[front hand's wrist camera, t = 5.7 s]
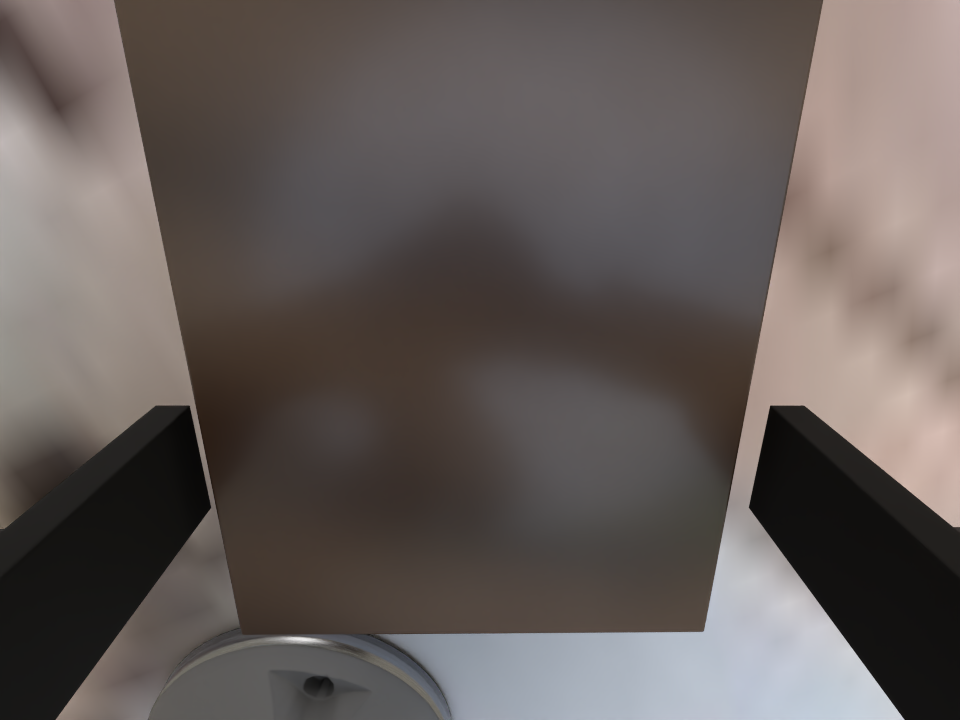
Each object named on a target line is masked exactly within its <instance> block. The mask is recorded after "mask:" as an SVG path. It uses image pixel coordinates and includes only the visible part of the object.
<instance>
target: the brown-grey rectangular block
mask: <svg viewBox="0 0 960 720" xmlns="http://www.w3.org/2000/svg"><path fill="white" fill-rule="evenodd" d="M114 3H115V8H116V13H117V17H118V22H119V27H120V32H121V37H122V42H123V47H124V52H125V57H126V62H127V67H128V72H129V77H130V82H131V87H132V92H133V97H134V102H135V107H136V112H137V117H138V122H139V127H140V132H141V137H142V142H143V146H144V151H145V156H146V161H147V166H148V171H149V176H150V181H151V186H152V191H153V196H154V201H155V206H156V211H157V216H158V221H159V226H160V231H161V236H162V241H163V246H164V251H165V256H166V261H167V266H168V270H169V275H170V280H171V285H172V290H173V295H174V300H175V305H176V310H177V315H178V320H179V325H180V330H181V335H182V340H183V345H184V350H185V355H186V360H187V365H188V370H189V375H190V380H191V385H192V390H193V394H194V399H195V404H196V409H197V414H198V419H199V424H200V429H201V434H202V439H203V444H204V449H205V454H206V459H207V464H208V469H209V474H210V479H211V484H212V489H213V494H214V499H215V504H216V509H217V514H218V518H219V523H220V528H221V533H222V538H223V543H224V548H225V553H226V558H227V563H228V568H229V573H230V578H231V583H232V588H233V593H234V598H235V603H236V608H237V613H238V618H239V623H240V628H241V633H242V635H320V634H461V633H602V632H703V631H704V628H705V623H706V617H707V612H708V607H709V601H710V596H711V591H712V585H713V580H714V575H715V570H716V564H717V559H718V554H719V548H720V543H721V538H722V533H723V527H724V522H725V517H726V511H727V506H728V501H729V496H730V490H731V485H732V480H733V474H734V469H735V464H736V458H737V453H738V448H739V443H740V437H741V432H742V427H743V421H744V416H745V411H746V406H747V400H748V395H749V390H750V384H751V379H752V374H753V368H754V363H755V358H756V353H757V347H758V342H759V337H760V331H761V326H762V321H763V316H764V310H765V305H766V300H767V294H768V289H769V284H770V279H771V273H772V268H773V263H774V257H775V252H776V247H777V241H778V236H779V231H780V226H781V220H782V215H783V210H784V204H785V199H786V194H787V189H788V183H789V178H790V173H791V167H792V162H793V157H794V152H795V146H796V141H797V136H798V130H799V125H800V120H801V114H802V109H803V104H804V99H805V93H806V88H807V83H808V77H809V72H810V67H811V62H812V56H813V51H814V46H815V40H816V35H817V30H818V25H819V19H820V14H821V9H822V3H823V0H114Z"/></svg>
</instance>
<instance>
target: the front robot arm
mask: <svg viewBox="0 0 960 720" xmlns="http://www.w3.org/2000/svg"><path fill="white" fill-rule="evenodd" d="M210 508H211V505H210V500H209V495H208V490H207V486H206V481H205V476H204V471H203V467H202V462H201V457H200V452H199V448H198V443H197V438H196V433H195V429H194V424H193V419H192V414H191V410H190V406H155V407H154V408H152V409H151V410H150V411H149V412H148V413H146V414H145V415H144V416H143V417H141V418H140V419H139V420H138V421H136V422H135V423H134V424H133V425H132V426H130V427H129V428H128V429H127V430H125V431H124V432H123V433H122V434H121V435H119V436H118V437H117V438H116V439H114V440H113V441H112V442H111V443H110V444H108V445H107V446H106V447H105V448H103V449H102V450H101V451H100V452H98V453H97V454H96V455H95V456H94V457H92V458H91V459H90V460H89V461H87V462H86V463H85V464H84V465H83V466H81V467H80V468H79V469H78V470H76V471H75V472H74V473H73V474H72V475H70V476H69V477H68V478H67V479H65V480H64V481H63V482H62V483H60V484H59V485H58V486H57V487H56V488H54V489H53V490H52V491H51V492H49V493H48V494H47V495H46V496H45V497H43V498H42V499H41V500H40V501H38V502H37V503H36V504H35V505H33V506H32V507H31V508H30V509H29V510H27V511H26V512H25V513H24V514H22V515H21V516H20V517H19V518H18V519H16V520H15V521H14V522H13V523H11V524H10V525H9V526H8V527H7V528H5V529H0V720H55V719H56V718H57V717H58V715H59V714H60V713H61V711H62V710H63V709H64V707H65V706H66V705H67V703H68V702H69V700H70V699H71V698H72V696H73V695H74V694H75V692H76V691H77V690H78V688H79V687H80V685H81V684H82V683H83V681H84V680H85V679H86V677H87V676H88V675H89V673H90V672H91V670H92V669H93V668H94V666H95V665H96V664H97V662H98V661H99V660H100V658H101V657H102V655H103V654H104V653H105V651H106V650H107V649H108V647H109V646H110V645H111V643H112V642H113V640H114V639H115V638H116V636H117V635H118V634H119V632H120V631H121V630H122V628H123V627H124V626H125V624H126V623H127V621H128V620H129V619H130V617H131V616H132V615H133V613H134V612H135V611H136V609H137V608H138V606H139V605H140V604H141V602H142V601H143V600H144V598H145V597H146V596H147V594H148V593H149V591H150V590H151V589H152V587H153V586H154V585H155V583H156V582H157V581H158V579H159V578H160V576H161V575H162V574H163V572H164V571H165V570H166V568H167V567H168V566H169V564H170V563H171V562H172V560H173V559H174V557H175V556H176V555H177V553H178V552H179V551H180V549H181V548H182V547H183V545H184V544H185V542H186V541H187V540H188V538H189V537H190V536H191V534H192V533H193V532H194V530H195V529H196V527H197V526H198V525H199V523H200V522H201V521H202V519H203V518H204V517H205V515H206V514H207V512H208V511H209V510H210ZM749 508H750V510H751V511H752V512H753V514H754V515H755V517H756V518H757V519H758V521H759V522H760V523H761V525H762V526H763V527H764V529H765V530H766V532H767V533H768V534H769V536H770V537H771V538H772V540H773V541H774V542H775V544H776V545H777V547H778V548H779V549H780V551H781V552H782V553H783V555H784V556H785V557H786V559H787V560H788V562H789V563H790V564H791V566H792V567H793V568H794V570H795V571H796V572H797V574H798V575H799V576H800V578H801V579H802V581H803V582H804V583H805V585H806V586H807V587H808V589H809V590H810V591H811V593H812V594H813V596H814V597H815V598H816V600H817V601H818V602H819V604H820V605H821V606H822V608H823V609H824V611H825V612H826V613H827V615H828V616H829V617H830V619H831V620H832V621H833V623H834V624H835V626H836V627H837V628H838V630H839V631H840V632H841V634H842V635H843V636H844V638H845V639H846V640H847V642H848V643H849V645H850V646H851V647H852V649H853V650H854V651H855V653H856V654H857V655H858V657H859V658H860V660H861V661H862V662H863V664H864V665H865V666H866V668H867V669H868V670H869V672H870V673H871V675H872V676H873V677H874V679H875V680H876V681H877V683H878V684H879V685H880V687H881V688H882V690H883V691H884V692H885V694H886V695H887V696H888V698H889V699H890V700H891V702H892V703H893V705H894V706H895V707H896V709H897V710H898V711H899V713H900V714H901V715H902V717H903V718H904V719H905V720H960V527H952V526H951V525H950V524H949V523H947V522H946V521H945V520H944V519H942V518H941V517H940V516H939V515H938V514H936V513H935V512H934V511H933V510H931V509H930V508H929V507H928V506H927V505H925V504H924V503H923V502H922V501H920V500H919V499H918V498H917V497H915V496H914V495H913V494H912V493H911V492H909V491H908V490H907V489H906V488H904V487H903V486H902V485H901V484H900V483H898V482H897V481H896V480H895V479H893V478H892V477H891V476H890V475H888V474H887V473H886V472H885V471H884V470H882V469H881V468H880V467H879V466H877V465H876V464H875V463H874V462H873V461H871V460H870V459H869V458H868V457H866V456H865V455H864V454H863V453H862V452H860V451H859V450H858V449H857V448H855V447H854V446H853V445H852V444H850V443H849V442H848V441H847V440H846V439H844V438H843V437H842V436H841V435H839V434H838V433H837V432H836V431H835V430H833V429H832V428H831V427H830V426H828V425H827V424H826V423H825V422H824V421H822V420H821V419H820V418H819V417H817V416H816V415H815V414H814V413H812V412H811V411H810V410H809V409H808V408H806V407H805V406H770V410H769V414H768V419H767V424H766V429H765V433H764V438H763V443H762V448H761V452H760V457H759V462H758V467H757V471H756V476H755V481H754V486H753V490H752V495H751V500H750V505H749ZM148 720H452V719H451V715H450V711H449V708H448V705H447V703H446V700H445V698H444V697H443V695H442V693H441V691H440V689H439V688H438V687H437V685H436V684H435V682H434V681H433V680H432V679H431V677H430V676H429V675H428V674H427V673H426V672H425V671H424V670H423V669H422V668H421V667H420V666H419V665H418V664H417V663H415V662H414V661H413V660H412V659H410V658H409V657H408V656H406V655H405V654H403V653H402V652H400V651H399V650H397V649H395V648H394V647H392V646H390V645H388V644H386V643H384V642H382V641H381V640H378V639H376V638H374V637H371V636H369V635H366V634H320V635H242V633H241V628H239V629H235V630H232V631H229V632H227V633H224V634H222V635H219V636H217V637H215V638H213V639H211V640H209V641H207V642H205V643H204V644H202V645H201V646H199V647H198V648H196V649H195V650H194V651H192V652H191V653H190V654H189V655H188V656H186V657H185V658H184V659H183V660H182V661H181V662H180V664H179V665H178V666H177V667H176V668H175V670H174V671H173V673H172V674H171V675H170V677H169V679H168V681H167V682H166V684H165V686H164V688H163V689H162V691H161V693H160V695H159V696H158V698H157V700H156V702H155V704H154V706H153V707H152V710H151V712H150V715H149V718H148Z"/></svg>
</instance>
